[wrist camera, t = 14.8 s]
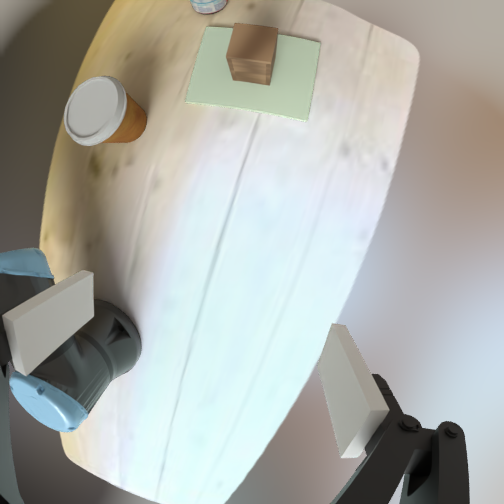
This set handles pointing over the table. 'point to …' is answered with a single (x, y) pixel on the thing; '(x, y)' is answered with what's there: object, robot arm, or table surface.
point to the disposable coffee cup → (103, 113)
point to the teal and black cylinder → (208, 6)
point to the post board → (251, 94)
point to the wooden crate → (252, 53)
